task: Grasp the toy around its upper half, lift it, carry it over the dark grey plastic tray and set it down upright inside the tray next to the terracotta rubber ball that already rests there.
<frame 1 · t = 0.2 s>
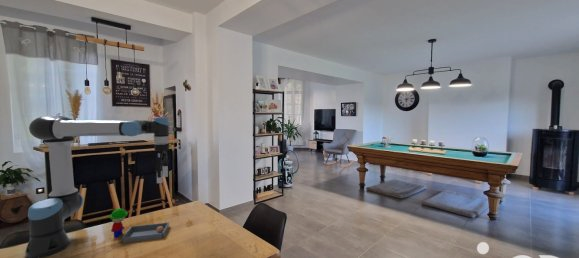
hand: (162, 179, 141), 28 cm above the table, fingers open, 13 cm apart
ball: (160, 232, 133), point 1 cm above the table, touching tray
tray: (146, 235, 131), on the table
toy: (119, 236, 130), on the table
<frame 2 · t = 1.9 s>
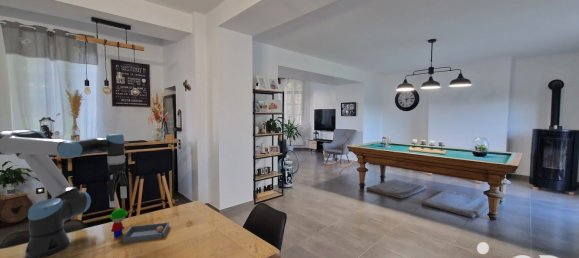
hand: (118, 202, 129), 19 cm above the table, fingers open, 13 cm apart
nothing on the table moved.
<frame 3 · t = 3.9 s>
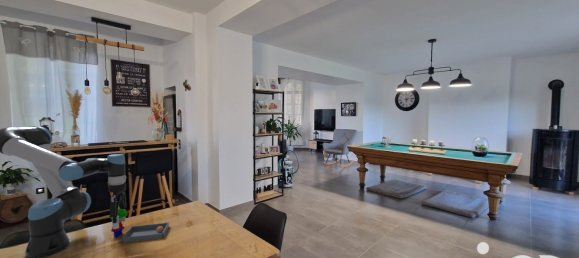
hand: (119, 224, 130), 6 cm above the table, fingers closed on toy, 8 cm apart
toy: (119, 236, 130), on the table, touching gripper
everything else where it was.
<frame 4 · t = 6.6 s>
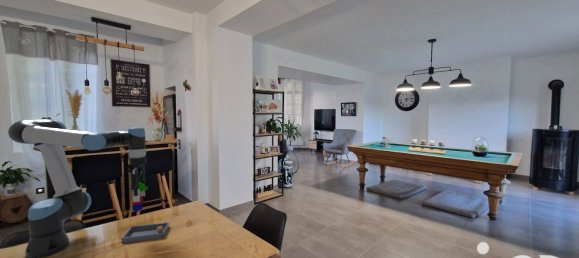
hand: (139, 198, 129), 21 cm above the table, fingers closed on toy, 8 cm apart
toy: (139, 210, 129), point 14 cm above the table, touching gripper
everything else where it was.
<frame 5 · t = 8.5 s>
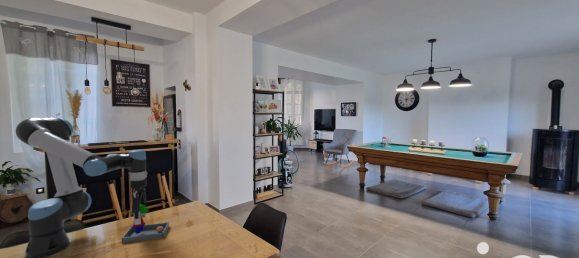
hand: (140, 220, 130), 9 cm above the table, fingers closed on toy, 8 cm apart
toy: (140, 232, 130), point 2 cm above the table, touching gripper
everything else where it was.
when the fingers open (8 cm above the table, at t = 9.6 s): toy stays where it is, resting on tray.
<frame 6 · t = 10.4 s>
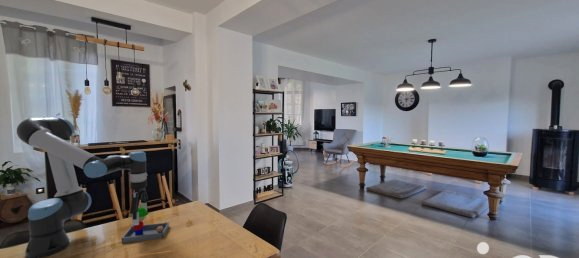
hand: (140, 219, 130), 9 cm above the table, fingers open, 13 cm apart
toy: (140, 235, 130), resting on tray
everything else where it was.
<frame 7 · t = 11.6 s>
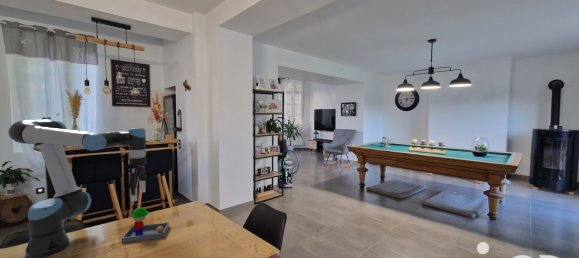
hand: (138, 196, 129), 22 cm above the table, fingers open, 13 cm apart
nothing on the table moved.
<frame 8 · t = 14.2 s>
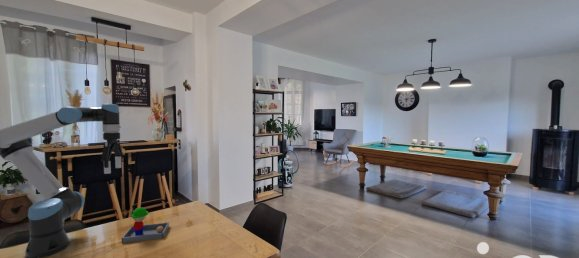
hand: (113, 170, 133), 35 cm above the table, fingers open, 13 cm apart
nothing on the table moved.
at the end: toy inside the target area on the tray (3.0 cm from its centre), point 0.4 cm above the tray's base; toy tilted 0°; the gripper is holding nothing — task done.
